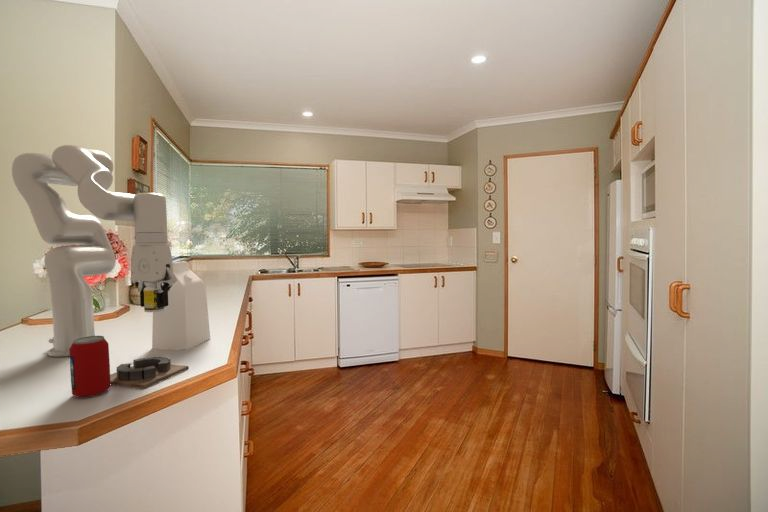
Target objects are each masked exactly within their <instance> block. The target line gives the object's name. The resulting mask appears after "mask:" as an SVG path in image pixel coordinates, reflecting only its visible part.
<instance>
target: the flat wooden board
mask: <svg viewBox="0 0 768 512" xmlns="http://www.w3.org/2000/svg"><path fill="white" fill-rule="evenodd" d="M132 360H133V365H131V363H130V362H129V363H120V364H119V365H117V367H116V372H113V373H110V384H111V385H112V386H117V385H119V386H118V387H125V386H127V387H128V388H133V387H135V388H136V389H147V388H149V387H151V386H153V385H156V384H159V383H160V381H161V382H162V381H165V380H167V379H169V377H170V378H171V376H172V377H174V376H176V375H178V373H179V374H181V373H183V372H185V371H188V370H189V367H190V366H189V365H183V364H172V363H171V359H170V358H169V357H167V356H147V357H141V358H136V359H132ZM135 388H134V389H135Z"/></svg>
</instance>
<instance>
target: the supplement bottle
mask: <svg viewBox="0 0 768 512" xmlns="http://www.w3.org/2000/svg"><path fill="white" fill-rule="evenodd" d="M144 284H145V286H146V287H145V288H144V307H143V309H144V312H145V313H153V312H159V311H163V310H164V309H165V307H161V308H158V307H157V297H156V294H157V293H159V292H158V288H157V285H156V282H145V283H144Z"/></svg>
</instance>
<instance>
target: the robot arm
mask: <svg viewBox="0 0 768 512" xmlns="http://www.w3.org/2000/svg"><path fill="white" fill-rule="evenodd" d="M112 160H113V159H112V158H111V157H110V156H109V155H108V154H107V153H106V152H104V151H101V150H98V149H93V148H87V147H83V146H79V145H72V144H64V145H60V146H58V147H56V148H55V149H54V150H53V152H52V154H51V155H50V154H45V153H38V152H37V153H36V152H29V153H28V152H26V153H22V154H19V155H17V156H16V157H15V158H14V159H13V162H12V166H11V176H12V180H13V183H14V185H15V187H16V189H17V191H18V192H19V194H20V195H21V196H22V197H23V200H24V201H25V202H26V203H27V206H28V209H29V210H30V213H31V217H32V218H33V222H34V224H35V226H36V228H37V231H38V233H39V235H40V237H41V239H42V240H43V241H44V242H45V243H46V244H48V245H52V246H53V245H56V246H55V247H53V248H51V249H50V250H48V251H47V252H46V254H45V256H44V260H43V261H44V267H45V270H46V274H47V277H48V281H49V287H50V295H51V296H50V297H51V311H52V326H53V328H52V329H53V337H52V338H49V340H48V343H49V344H52V346H53V347H52V348H49V349H48V350H47V356H48V357H56V358H57V357H58V358H59V357H70V354H69V349H70V347H71V345H72V344H73V341H74V340H76V339H79V338H83V337H88V336H96V334H95V317H94V315H95V314H94V302H93V301H94V298H93V297H94V296H93V290H92V288H91V286H90V284H88V282H87V281H86V280H85V279H84V277H93V276H100V275H105V274H110V273H111V272H112V271H113V270H114V269H115V267H116V255H115V252H114V249H113V247H112V244H111V242H110V240H109V237H108V235H107V232H106V230H105V228H104V225H103V224H102V222H101V221H100V220H99V219H101V220H104V221H111V222H112V221H115V222H118V221H119V222H122V221H123V222H133V223H134V238H133V239H134V243H135V244H133V245H132V250H131V255H130V256H131V258H130V281H131V282H132V283H133V284H134V285H135V287H136V288H137V292H139V297H140V298H139V301H140V307H141V308H144V288H145V287H146V286H145V282H156V285H157V288H158V292H159V293H157V294H156V297H157V307H158V308H161V307H165V306H168V291H170V288H171V287H172V285H173V284H174V283H175V282H176V281H177V278H176V277H175V275H174V274H173V258H172V252H171V247H170V244H169V242H168V240H169V239H168V215H167V214H168V213H167V210H168V209H167V199H166V197H165V196H164V195H163V194H161V193H156V192H139V193H136V194H134V193H127V192H118V191H116V192H115V191H108V189H109V188H111V186H112V184H113V182H114V177H113V171H114V163H113V161H112ZM48 184H52V185H60V186H69V187H70V186H71V187H77V196H78V200H79V202H80V203H81V205H82V206H83V207H84V208H85V209H86V210H88V212H90V213H91V214H92V215H89V214H78V213H72V212H71V211H70V209H69V208H68V206H67V204H66V201H65V199H64V198H63V197H62V195H60V193H58V192H57V190H56V189H54V188H52V187H51V186H50V185H48ZM96 217H97V218H96ZM98 218H99V219H98ZM162 283H163V284H164V285H163V286H162Z"/></svg>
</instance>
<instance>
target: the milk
mask: <svg viewBox="0 0 768 512" xmlns="http://www.w3.org/2000/svg"><path fill="white" fill-rule="evenodd" d="M172 263H173V274H174V275H175V277H176V278H177V281H176V282H175V283H174V284H173V285H172V287H171V288H170V291H168V306H165V309H164V310H163V311H159V312H152V332H151V333H152V338H151V339H152V340H151V341H152V342H151V347H152V349H154V350H177V349H188V350H190V349H192V348H194V347H196V346H199V345H200V343H201V344H202V342H203V343H205V342H207V341H209V340H211V331H210V320H209V308H208V298H207V285H206V284H205V282H204V281H203V280H202V279H201V278H200V277H199V276H198V275H197V274H196V273H195V272H194V271H192V270H191V269H190V266H189V263H188V261H175V262H173V261H172ZM163 285H164V284H163V283H162V286H163ZM208 339H209V340H208ZM206 340H207V341H206ZM204 341H205V342H204ZM189 348H190V349H189Z"/></svg>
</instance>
